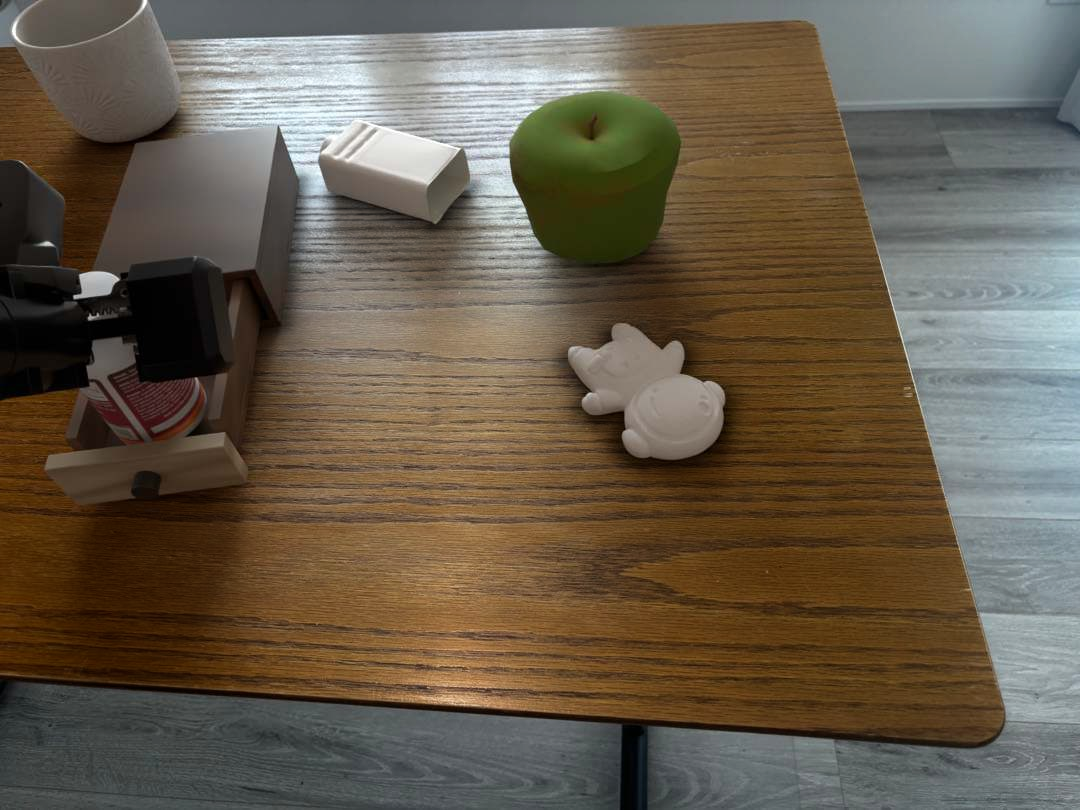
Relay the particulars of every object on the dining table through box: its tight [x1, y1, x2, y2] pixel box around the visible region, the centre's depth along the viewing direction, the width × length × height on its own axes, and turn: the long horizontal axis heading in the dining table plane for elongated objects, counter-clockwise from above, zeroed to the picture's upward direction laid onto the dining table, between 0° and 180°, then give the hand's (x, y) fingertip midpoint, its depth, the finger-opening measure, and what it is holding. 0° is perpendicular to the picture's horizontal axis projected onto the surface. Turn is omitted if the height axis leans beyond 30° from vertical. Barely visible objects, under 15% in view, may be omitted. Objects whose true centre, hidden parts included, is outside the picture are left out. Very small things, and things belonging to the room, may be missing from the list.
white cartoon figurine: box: [567, 322, 726, 461], centre depth 57 cm, size 9×12×3 cm
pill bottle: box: [73, 271, 207, 445], centre depth 53 cm, size 6×6×11 cm
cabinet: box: [91, 124, 300, 329], centre depth 69 cm, size 18×12×6 cm
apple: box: [508, 90, 682, 265], centre depth 64 cm, size 12×12×11 cm
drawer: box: [43, 277, 263, 506], centre depth 59 cm, size 19×11×4 cm, turn 6°
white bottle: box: [317, 119, 471, 225], centre depth 73 cm, size 6×13×4 cm, turn 62°
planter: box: [9, 0, 182, 144], centre depth 81 cm, size 12×12×11 cm
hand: (122, 334), depth 53 cm, fingers closed on pill bottle, 6 cm apart
